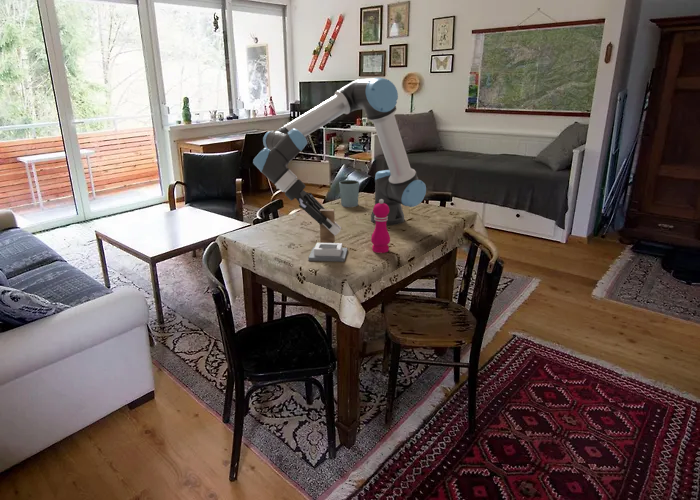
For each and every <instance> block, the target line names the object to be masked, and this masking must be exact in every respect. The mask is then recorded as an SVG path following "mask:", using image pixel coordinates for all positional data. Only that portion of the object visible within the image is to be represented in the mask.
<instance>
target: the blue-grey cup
mask: <svg viewBox="0 0 700 500" xmlns="http://www.w3.org/2000/svg"><path fill="white" fill-rule="evenodd" d="M338 185H339V192H340V202H341V203H340V204H341V206H342V207H344V208H355V207H358V206H359V195H360V194H359V193H360V192H359V189H360V181H359V180H355V179H354V180H353V179H345V180H341V181H339V183H338Z"/></svg>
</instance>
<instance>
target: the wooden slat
mask: <svg viewBox="0 0 700 500" xmlns="http://www.w3.org/2000/svg"><path fill="white" fill-rule="evenodd" d="M320 212H321V213H322V214H323V215H324V216H325V217H326V218H328V219H329V220H330V221H331V222H332V223H333V224H334V225H335V222H336V221H335V219H336V218H335V217H336V216H335V215H336V214H335V209H333V208H325V209H320ZM319 237H320V239H319V240H320V241H319V243H336V242H335V241H336V236H335V235H334V234H332V233H331V232H330V231H329V230H328V229H327V228H326V227H325V226H324V225H323V224H321V225H319Z"/></svg>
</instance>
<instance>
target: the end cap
mask: <svg viewBox="0 0 700 500" xmlns="http://www.w3.org/2000/svg"><path fill="white" fill-rule="evenodd" d="M347 253H348V247H343V243H342V242H334V243H320V242H316V244H315V246H313V247H312V249H311V251H310V254H309V256H308V261H309V262H310V261H313V262H343V263H344V262H346V261H345V260H346V257H347Z"/></svg>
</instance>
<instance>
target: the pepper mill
mask: <svg viewBox="0 0 700 500" xmlns="http://www.w3.org/2000/svg"><path fill="white" fill-rule="evenodd" d="M372 211H373V213H374V214H375V216H374V217H375V218H374V220H375V221H376V223H375V226H374V230H373V232H372V234H371V238H370V241H371V243H372V247H371V248H372V249H371V250H372V252H374V253H377V254H385V253H388V252H389V251H390V250H389V249H390V247H389V244H390V242H391V235H390V233H389V231H388V229H387V225H386V222H387V220H388V216H387V215H388V213H389V207H388V205H387V204H385V203H384V200H383V199H380V200H379V203H378V204H376V205H375V204H374V206H373V209H372Z"/></svg>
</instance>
